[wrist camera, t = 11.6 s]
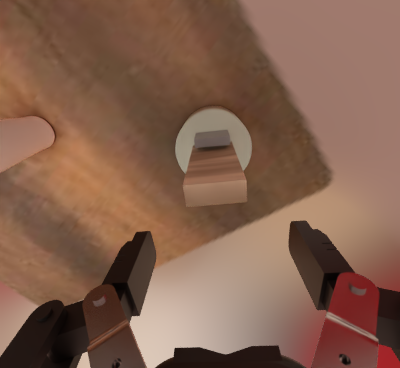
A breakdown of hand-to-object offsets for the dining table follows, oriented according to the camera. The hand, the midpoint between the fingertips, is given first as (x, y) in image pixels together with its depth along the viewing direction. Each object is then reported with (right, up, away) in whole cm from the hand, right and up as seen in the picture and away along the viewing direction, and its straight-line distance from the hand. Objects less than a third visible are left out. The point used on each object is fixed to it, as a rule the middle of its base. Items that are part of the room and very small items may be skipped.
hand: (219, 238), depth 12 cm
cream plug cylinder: (+1, +10, +22) cm, 24 cm away
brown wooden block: (+1, +7, +16) cm, 17 cm away
